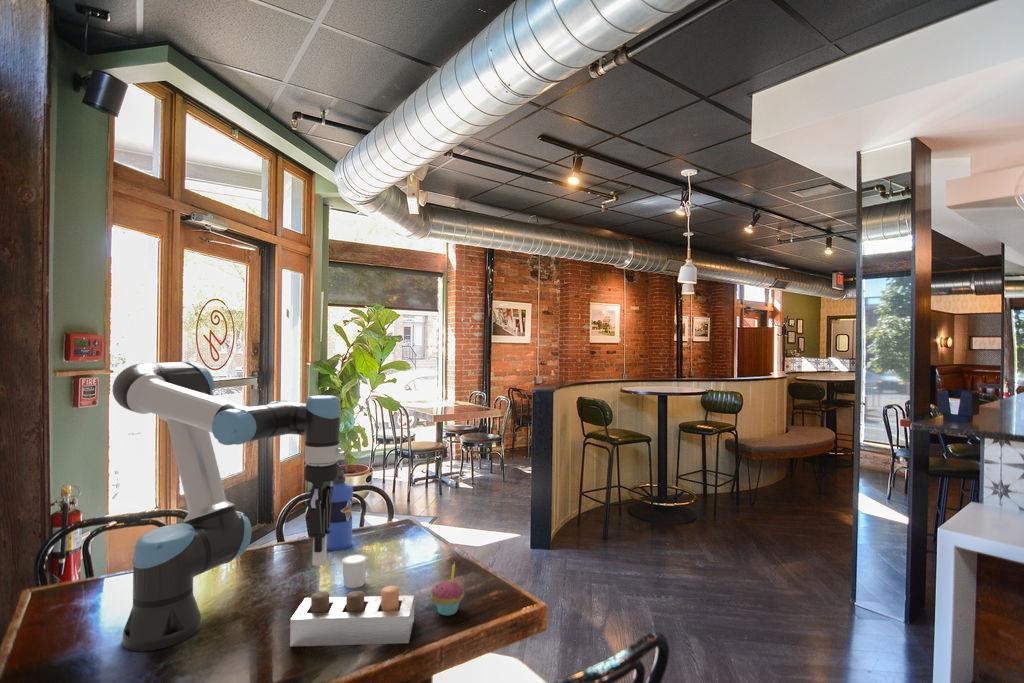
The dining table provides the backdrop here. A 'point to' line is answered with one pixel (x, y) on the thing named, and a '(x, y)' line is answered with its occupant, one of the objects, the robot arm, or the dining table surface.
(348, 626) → the jig
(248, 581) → the dining table surface
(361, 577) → the white cup
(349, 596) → the plug mid
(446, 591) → the cupcake
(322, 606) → the plug near
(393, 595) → the plug terracotta
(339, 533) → the water bottle
